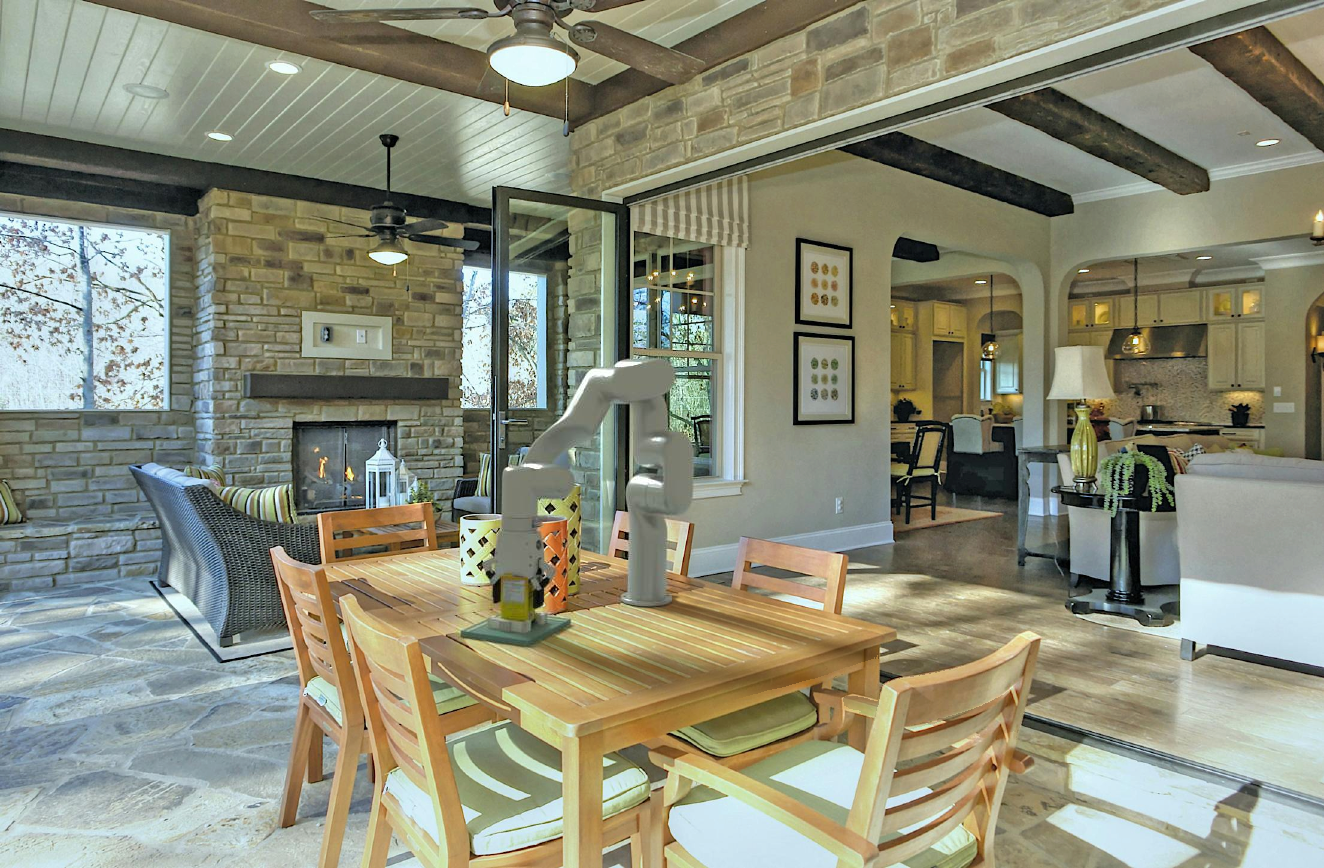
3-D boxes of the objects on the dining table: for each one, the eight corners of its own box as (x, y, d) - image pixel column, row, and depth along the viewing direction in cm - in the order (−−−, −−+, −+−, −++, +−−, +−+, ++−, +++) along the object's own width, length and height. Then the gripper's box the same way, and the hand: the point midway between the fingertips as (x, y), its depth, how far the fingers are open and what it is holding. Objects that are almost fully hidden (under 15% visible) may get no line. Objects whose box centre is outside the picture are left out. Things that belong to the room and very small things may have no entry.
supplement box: (535, 621, 173) (536, 570, 172) (527, 628, 167) (528, 576, 166) (508, 619, 173) (509, 569, 173) (499, 627, 168) (500, 575, 167)
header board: (507, 615, 181) (508, 601, 181) (570, 624, 176) (571, 609, 176) (460, 636, 165) (460, 621, 164) (528, 646, 159) (528, 631, 159)
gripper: (564, 525, 170) (562, 605, 170) (494, 519, 176) (492, 596, 176) (546, 530, 163) (545, 613, 163) (474, 523, 169) (473, 604, 169)
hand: (517, 604), depth 170 cm, fingers open, 9 cm apart
